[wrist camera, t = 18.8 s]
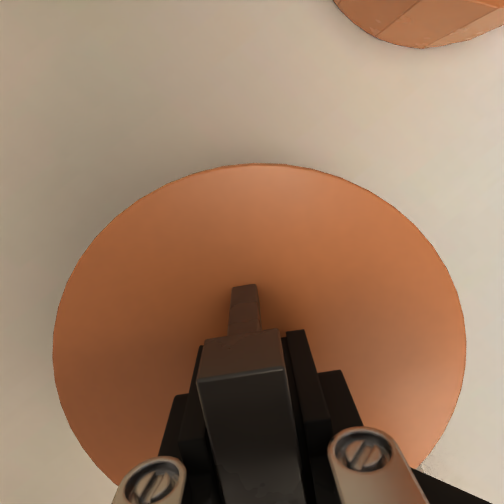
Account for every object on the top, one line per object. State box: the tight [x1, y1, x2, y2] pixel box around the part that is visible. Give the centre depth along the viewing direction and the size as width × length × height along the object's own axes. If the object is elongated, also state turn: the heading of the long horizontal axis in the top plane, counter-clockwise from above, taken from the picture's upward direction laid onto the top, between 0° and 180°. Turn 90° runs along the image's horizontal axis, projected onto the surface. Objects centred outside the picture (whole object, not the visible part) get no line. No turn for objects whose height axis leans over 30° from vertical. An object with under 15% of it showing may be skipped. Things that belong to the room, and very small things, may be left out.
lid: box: [52, 163, 466, 504], centre depth 11 cm, size 12×12×6 cm
